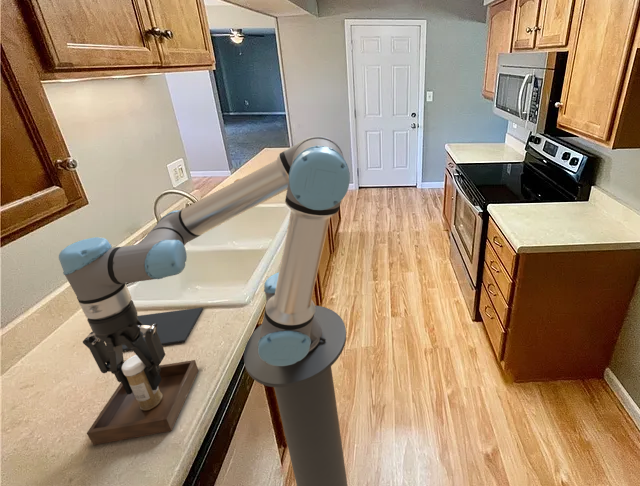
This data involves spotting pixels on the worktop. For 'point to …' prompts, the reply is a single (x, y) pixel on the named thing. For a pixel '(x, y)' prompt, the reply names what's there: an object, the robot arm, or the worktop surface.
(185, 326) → the mat
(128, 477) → the worktop surface
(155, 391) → the sprinkles bottle
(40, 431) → the worktop surface
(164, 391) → the tray
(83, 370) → the worktop surface
